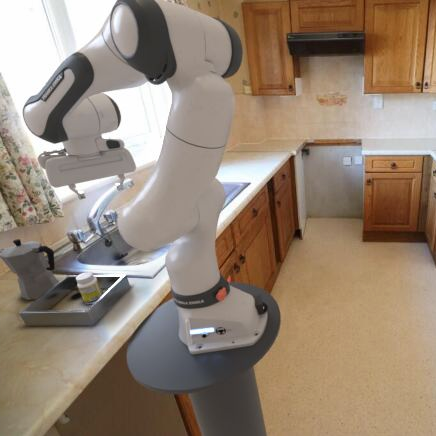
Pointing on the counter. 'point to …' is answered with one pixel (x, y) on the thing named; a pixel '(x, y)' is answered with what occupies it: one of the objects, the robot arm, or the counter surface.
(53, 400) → the counter surface
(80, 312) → the shallow rectangular grey tray
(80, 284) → the supplement bottle
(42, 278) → the coffeepot
